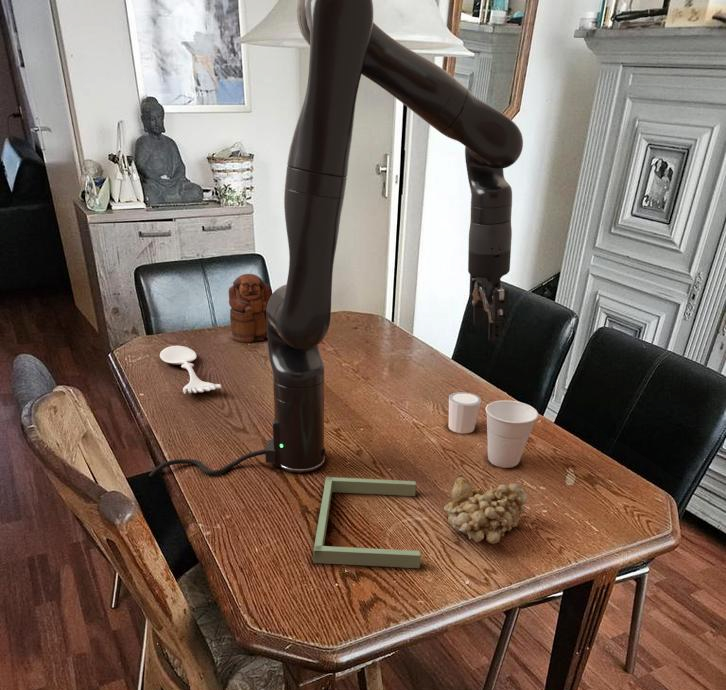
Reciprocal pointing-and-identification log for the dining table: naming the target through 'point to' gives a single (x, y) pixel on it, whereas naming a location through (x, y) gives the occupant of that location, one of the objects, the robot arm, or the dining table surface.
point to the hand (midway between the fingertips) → (486, 332)
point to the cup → (508, 431)
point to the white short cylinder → (463, 412)
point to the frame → (362, 554)
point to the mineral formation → (485, 510)
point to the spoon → (184, 357)
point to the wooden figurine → (249, 308)
